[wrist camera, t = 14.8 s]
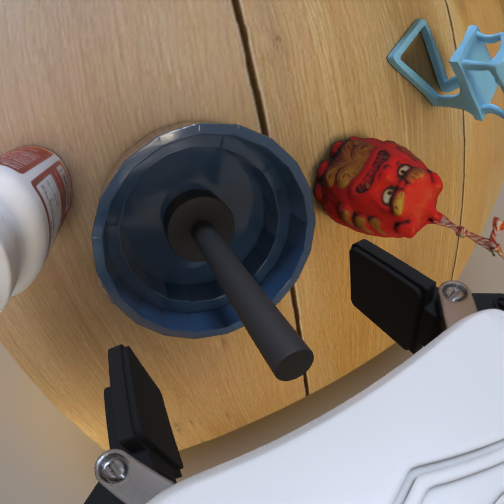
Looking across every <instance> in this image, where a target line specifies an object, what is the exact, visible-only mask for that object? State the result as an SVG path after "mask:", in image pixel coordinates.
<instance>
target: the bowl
mask: <svg viewBox="0 0 504 504" xmlns="http://www.w3.org/2000/svg"><path fill="white" fill-rule="evenodd" d="M193 189H201V190H206V191H209V192H211V193H213V194H215V195H216V196H217V197H218V198H219V199H220V200H221V201H223V202H224V203H225V204H226V205H227V206H228V207H229V209H230V210H231V212H232V214H233V217H234V222H235V230H234V235H233V238H232V240H231V242H230V244H229V246H228V247H229V248H230V249H231V250H232V252H233V253H234V254H235V255H236V257H237V258H238V259H239V261H240V262H241V263H242V264H243V266H244V267H245V268H246V269H247V271H248V272H249V273H250V275H251V276H252V277H253V278H254V280H255V281H256V282H257V283H258V285H259V286H260V287H261V288H262V290H263V291H264V292H265V294H266V295H267V296H268V297H269V299H270V300H271V301H272V302H273V304H274V305H275V306H276V305H277V304H278V303H279V302H280V301H281V299H282V298H283V297H284V296H285V295H286V293H287V292H288V291H289V290H290V288H291V287H292V286H293V285H294V284H295V282H296V281H297V279H298V278H299V276H300V274H301V271H302V269H303V267H304V265H305V263H306V261H307V258H308V256H309V254H310V251H311V246H312V240H313V234H314V228H315V214H314V207H313V199H312V192H311V189H310V187H309V185H308V183H307V181H306V179H305V177H304V175H303V173H302V171H301V169H300V167H299V165H298V163H297V162H296V161H295V160H294V159H293V158H292V157H291V156H290V155H289V154H288V153H287V152H286V151H285V150H284V149H283V148H282V147H281V146H279V145H278V144H277V143H276V142H275V141H274V140H273V139H271V138H269V137H267V136H265V135H262V134H260V133H258V132H255V131H253V130H250V129H248V128H246V127H243V126H241V125H237V124H228V123H218V122H181V123H177V124H174V125H171V126H168V127H165V128H162V129H159V130H156V131H153V132H151V133H150V134H148V135H147V136H145V137H144V138H143V139H141V140H140V141H139V142H137V143H136V144H135V145H134V146H132V147H131V148H130V149H128V150H127V151H126V152H125V153H124V154H123V155H122V157H121V158H120V160H119V161H118V163H117V164H116V166H115V167H114V169H113V170H112V172H111V173H110V175H109V176H108V178H107V179H106V182H105V185H104V188H103V191H102V194H101V197H100V201H99V205H98V209H97V213H96V217H95V222H94V226H93V231H92V245H93V253H94V260H95V267H96V272H97V274H98V276H99V278H100V280H101V282H102V284H103V286H104V288H105V289H106V291H107V293H108V295H109V297H110V299H111V300H112V302H113V303H114V304H115V305H116V306H117V307H118V308H120V309H121V310H122V311H123V312H124V313H125V314H126V315H127V316H129V317H130V318H131V319H132V320H133V321H134V322H135V323H137V324H139V325H141V326H143V327H146V328H148V329H150V330H153V331H155V332H157V333H160V334H162V335H166V336H173V337H182V338H191V339H195V338H196V339H198V338H205V337H211V336H217V335H223V334H227V333H230V332H232V331H234V330H237V329H239V328H241V327H244V325H243V323H242V321H241V320H240V318H239V316H238V315H237V313H236V311H235V310H234V308H233V306H232V305H231V303H230V301H229V300H228V298H227V296H226V295H225V293H224V291H223V289H222V288H221V286H220V284H219V283H218V281H217V279H216V277H215V276H214V274H213V272H212V270H211V269H210V267H209V265H208V263H207V262H206V261H204V262H193V261H188V260H185V259H183V258H181V257H180V256H178V255H177V254H176V253H175V252H174V251H173V250H172V248H171V247H170V244H169V242H168V239H167V236H166V233H165V230H164V225H163V220H164V214H165V211H166V209H167V207H168V205H169V204H170V203H171V201H172V200H173V199H174V198H175V197H177V196H178V195H179V194H181V193H183V192H185V191H189V190H193Z"/></svg>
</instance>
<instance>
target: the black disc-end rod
mask: <svg viewBox="0 0 504 504" xmlns="http://www.w3.org/2000/svg"><path fill="white" fill-rule="evenodd" d="M163 225H164V230H165V233H166V236H167V239H168V242H169V244H170V247H171V248H172V250H173V251H174V252H175V253H176V254H177V255H178V256H180V257H181V258H183V259H185V260H188V261H193V262H204V261H206V262H207V263H208V265H209V267H210V269H211V270H212V272H213V274H214V276H215V277H216V279H217V281H218V283H219V284H220V286H221V288H222V289H223V291H224V293H225V295H226V296H227V298H228V300H229V301H230V303H231V305H232V306H233V308H234V310H235V311H236V313H237V315H238V316H239V318H240V320H241V321H242V323H243V325H244V326H245V328H246V330H247V331H248V333H249V335H250V336H251V338H252V340H253V341H254V343H255V345H256V346H257V348H258V349H259V351H260V353H261V354H262V356H263V357H264V359H265V361H266V362H267V364H268V365H269V367H270V369H271V370H272V372H273V373H274V375H275V377H276V378H277V379H279V380H281V381H290V380H293V379H296V378H298V377H300V376H301V375H303V374H304V373H305V372H306V371H307V370H308V369H309V368H310V366H311V365H312V363H313V360H314V355H313V352H312V351H311V350H310V348H309V347H308V346H307V345H306V344H305V342H304V341H303V340H302V339H301V337H300V336H299V335H298V334H297V332H296V331H295V330H294V329H293V327H292V326H291V325H290V324H289V322H288V321H287V320H286V319H285V317H284V316H283V315H282V314H281V312H280V311H279V310H278V309H277V307H276V306H275V305H274V304H273V302H272V301H271V300H270V299H269V297H268V296H267V295H266V294H265V292H264V291H263V290H262V288H261V287H260V286H259V285H258V283H257V282H256V281H255V280H254V278H253V277H252V276H251V275H250V273H249V272H248V271H247V269H246V268H245V267H244V266H243V264H242V263H241V262H240V261H239V259H238V258H237V257H236V255H235V254H234V253H233V252H232V250H231V249H230V248H229V247H228V246H229V244H230V242H231V240H232V238H233V235H234V230H235V222H234V217H233V214H232V212H231V210H230V209H229V207H228V206H227V205H226V204H225V203H224V202H223V201H221V200H220V199H219V198H218V197H217V196H216V195H215V194H213V193H211V192H209V191H206V190H201V189H193V190H189V191H185V192H183V193H181V194H179V195H178V196H177V197H175V198H174V199H173V200H172V201H171V203H170V204H169V205H168V207H167V209H166V211H165V214H164V220H163Z"/></svg>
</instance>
